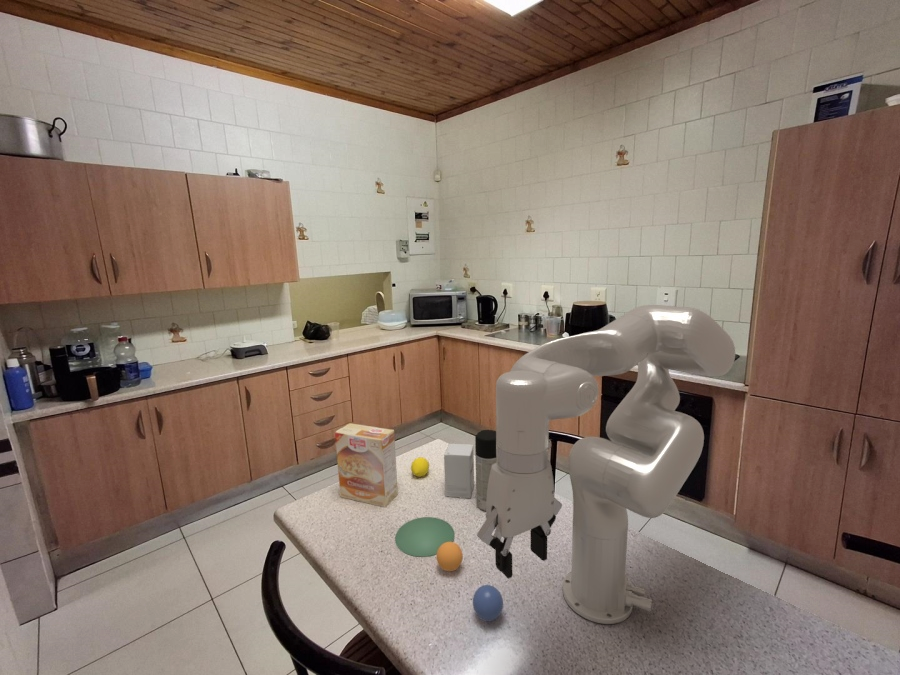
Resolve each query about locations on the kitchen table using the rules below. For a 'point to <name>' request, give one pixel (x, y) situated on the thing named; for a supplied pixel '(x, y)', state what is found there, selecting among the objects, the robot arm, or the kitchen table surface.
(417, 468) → the lemon
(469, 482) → the supplement box
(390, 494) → the coffeecake box
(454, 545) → the object ball
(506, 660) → the kitchen table surface
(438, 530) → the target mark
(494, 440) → the spray can
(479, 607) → the blue ball
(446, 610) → the kitchen table surface
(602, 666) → the kitchen table surface
